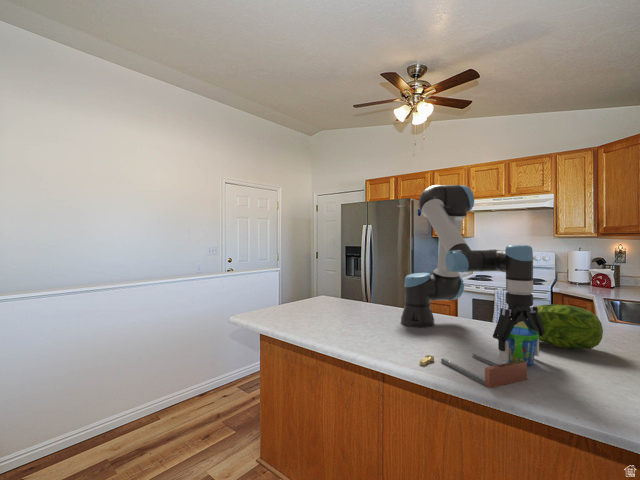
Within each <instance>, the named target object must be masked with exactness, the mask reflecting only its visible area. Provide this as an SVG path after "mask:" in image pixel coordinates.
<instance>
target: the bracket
mask: <svg viewBox="0 0 640 480" xmlns="http://www.w3.org/2000/svg"><path fill="white" fill-rule="evenodd" d="M472 358H474V359H476V360H479V361H480V362H483V363H485V364H487V365H489V366H485V367H484V378H483V377H481V376H480V375H477V374H476V373H474V372H472V371H470V370H468V369H466V368H464V367H462V366H459V365H458V364H457V363H454V362H452V361H450V360H448V359H446V358H441V362H440V363H442V364H443V363H444V365H445V366H447V367H449V368H450V369H451V368H452V370H455V371H457V372H458V373H460V372H461V373H460V374H462V373H463V374H462V375H464V376H466V377H468V378H470V379H472V380H474V381H475V382H477V383H480V384H482V385H484V386H485V387H487V388H489V389H491V388H495V387H500V386H504V385H509V384H514V383H518V382H521V381H526V380H527V379H528V378H527V377H528V371H527V370H528V368H527V367H528V365H527V362H525V361H523V360H520V361H515V362H510V361H509V362H504V363H498V362H496V361H495V360H492V359H490V358H488V357H485V356H482V355H480V354H478V353H475V352H473V353H472Z"/></svg>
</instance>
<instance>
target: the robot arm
mask: <svg viewBox="0 0 640 480" xmlns="http://www.w3.org/2000/svg"><path fill="white" fill-rule="evenodd" d="M474 205H475V197H474V193H473V191H472V189H471V188H470V187H469V186H467V185H464V184H463V185H462V184H461V185H460V184H448V185H447V184H442V185H441V184H434V185H431V186H429V187H426V188H425V189H424V190H423V191H422V193H421V194H420V196H419V199H418V207H419V211H420V213H421V215H422V216H423V217H425V218H427V220H428V221H429V224H430V225H431V227H432V229H433V230H434V232H435V233H436V236H437V237H438V239H439V245H438V247H439V248H438V254H437V255H438V256H437V264H436V265H437V266H436V268H435V269H434V270H433V272H432V274H433V275H431V274H430V273H429V272H418V273H417V272H416V273H410V274H407V275H406V276H405V277H404V284H403V286H404V306H403V309H402V310H403V311H402V314H401V317H400V322H401V324H403V325H405V326H407V327H414V328H429V327H433V326H435V318H434V314H433V312H432V308H431V302H432V301H453V300H458V299H460V298H461V296H462V295H463V293H464V290H465V283H464V278H462V276H461V274H460V273H470V272H471V273H475V272H482V273H483V272H484V273H485V272H501V273H505V290H506V293H505V303H506V304H507V305H508V307H507V309H506V308H502V307H501V308H500V310H499V312H500V313H499V317H498V320H497V323H496V326H495V328H494V330H493V335H492V338H493V339H496V340H497V342H498V352H499V353H498V354H499V355H498V358H499V359H498V360H501V361H502V362H504V363H510V361H509V343H508V341H506V340H507V338H508V336H509V335H510V333H511V331H512V329H513V328H514V326H515V325H516V324H518V322H522V321H523V322H524V323H525V324H526V326H527V327H528V328H529V329H532V330H535V331H537V332H538V333H539V336H543V333H544V332H545V330H544V328H543V325H542V322H541V320H540V317H539V314H538V308H537V307H536V306H537V305H534V295H533V293H534V277H533V276H534V252H533V251H534V250H533V247H532V246H530V245H526V244H525V245H524V244H523V245H522V244H521V245H520V244H518V245H517V244H513V245H512V244H509V245H506V247H505V250H501V249H485V250H481V249H479V250H478V249H477V250H476V249H475V250H472V249H471V248H470V246H469V245H468V244H467V242H466V240H465V239H464V237H463V235H462V226H463V220H464V219H465V218H466V217H467V215H468V212H470V211H471V210H472V209H473V208H474ZM539 328H540V329H539ZM503 336H504V337H503ZM534 357H540V341H539V339H538V340H537V346H536V351H535V356H534Z"/></svg>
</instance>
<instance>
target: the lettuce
mask: <svg viewBox="0 0 640 480" xmlns="http://www.w3.org/2000/svg"><path fill="white" fill-rule="evenodd" d="M535 306H536V307H537V308H538V314H539V317H540V320H541V322H542V325H543V328H544V330H545V332H544V333H543V336H539V342H542V343H545V344H548V345H552V346H555V347H559V348H562V349H568V350H569V349H570V350H591V349H593V348H595V347H597V346H599V344H600V343H601V341H602V339H603V336H604V335H603V334H604V329H603V325H602V321H601V320H600V319H599V317H598V316H597V315H596V314H594V313H593V312H592V311H590V310H589V309H585V308H582V307H578V306H573V305H567V304H566V305H565V304H540V305H535ZM515 326H517V327H524V328H528V327H527V326H526V324H525V323H524V322H523V321H522V322H518V324H516V325H515ZM539 329H540V328H539Z"/></svg>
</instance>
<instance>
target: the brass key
mask: <svg viewBox="0 0 640 480" xmlns="http://www.w3.org/2000/svg"><path fill="white" fill-rule="evenodd" d="M429 362H430V363H434V362H435V356H433V355H431V354H429V355H425V356H424V358H422V359H420V360H419V365H420V366H423V367H426V364H427V365H428V364H430V363H429Z"/></svg>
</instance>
